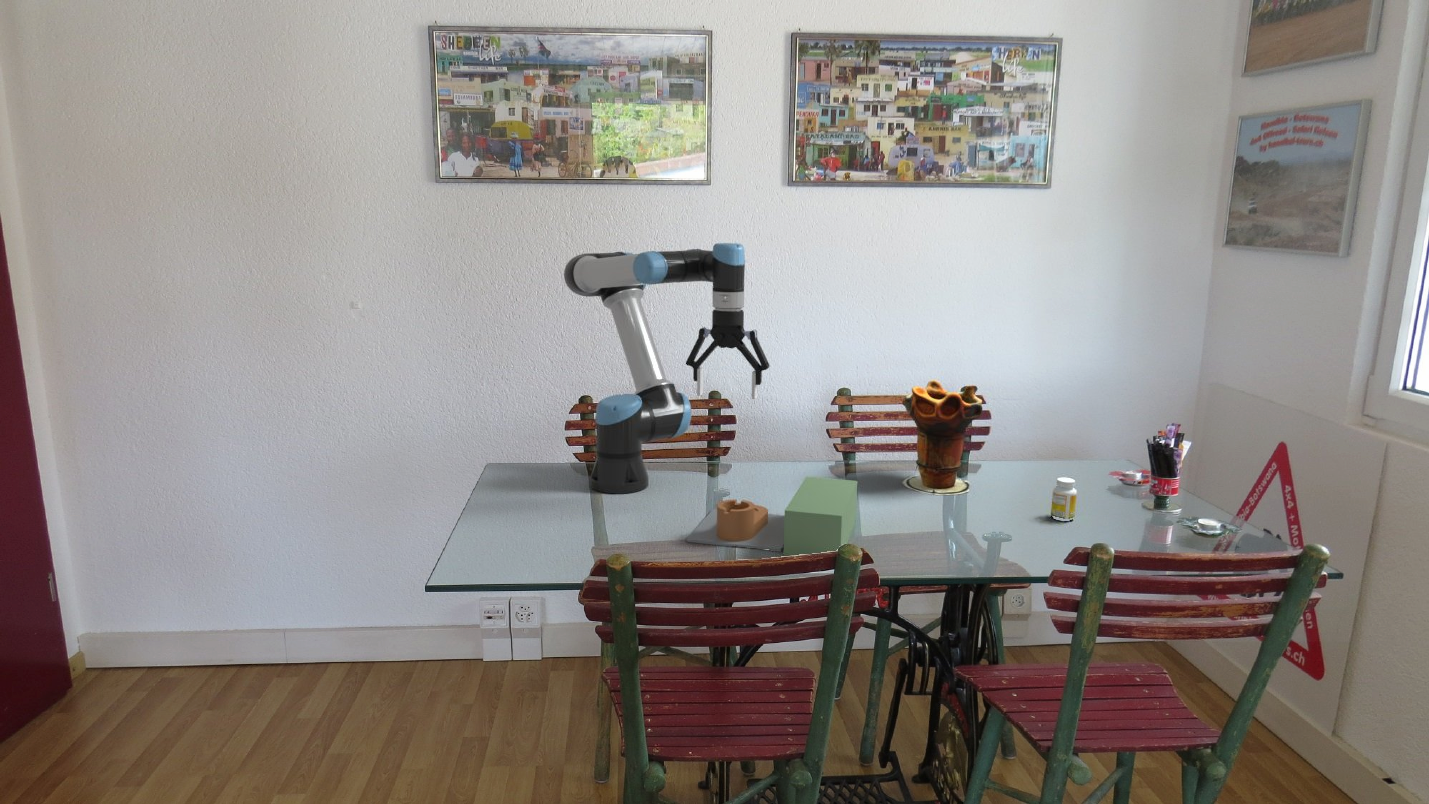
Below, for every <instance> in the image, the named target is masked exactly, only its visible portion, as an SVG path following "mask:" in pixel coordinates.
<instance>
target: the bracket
mask: <svg viewBox="0 0 1429 804" xmlns="http://www.w3.org/2000/svg"><path fill="white" fill-rule="evenodd" d="M737 500H738V499H733V498H732V499H725V500H721V501H719V502H718V503H717V504H716V509H717V536H718V537H719V538H720V539H723V540H726V541H735V542H738V541H746V540H750V539H752V538H753V537H754V536H755V535H756V534H757V533H758V532H759V531H760V530H761V529H762V528H763V527H764V526H765V525H767V523H768V514H769V509H768V508H767V507H765V506H762V505H758V504H754V503H753V502H752V501H749V500H746V499H745V500H744V499H742V500H741V501H740V502H738V501H737Z"/></svg>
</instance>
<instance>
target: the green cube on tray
mask: <svg viewBox="0 0 1429 804" xmlns="http://www.w3.org/2000/svg"><path fill="white" fill-rule="evenodd" d="M857 496H858V480H853V479H851V480H849V479H840V478H839V479H838V478H828V477H815V476H806V477H804V480H803V481H802V483H801V484H800V486H799V488H798V489H797V491H796V492H795V493H794V495H793V496H792V498H791V500H790V502H789V503H788V504H787V506H786V507H785V509H784V515H783V514H772V513H768V523H767V525H765V526H764V527H763V528H762V529H761V530H760V531H759V532H758V533H757V534H756V535H755V536H754V537H753V538H752V539H750V540H746V541H738V542H735V541H726V540H723V539H720V538H719V537H718V536H717V508H713V509H712V510H711V511H710V512H709V513H708V514H707V516H705V518H703V520H702V521H701V522H700V523H699V524H698V526H697V527H696V528H695V529H694V530H693V531H692V533H690V535H689V536H688V537H687V538H686V542H687V543H693V544H702V545H703V544H704V545H712V546H713V545H715V546H722V547H732V546H734V548H736V547H735V546H738V547H737V548H740V547H748V548H747V549H750V548H758V549H757V550H759V549H769V550H772V552H778V551H779V552H778V553H780V552H782V551H783V556H785V557H790V556H789V555H799V554H812V553H821V552H827V551H836V550H837V549H839V546H841V545H842V544H845V543H847V544H848V543H849V540H850V537H851V535H852V533H853V530H854V527H855V526H856V520H857V499H858V498H857ZM732 548H733V547H732ZM769 550H768V551H769Z"/></svg>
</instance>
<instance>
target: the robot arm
mask: <svg viewBox="0 0 1429 804" xmlns="http://www.w3.org/2000/svg"><path fill="white" fill-rule="evenodd" d="M745 264H746V258H745V247H744V245H743V244H741V243H737V242H736V243H735V242H733V243H732V242H729V243H728V242H717V243H714V244H713V246H712V250H707V249H706V250H705V249H700V248H696V249H695V248H692V249H691V248H690V249H686V250H668V251H665V250H664V251H663V250H662V251H661V250H660V251H659V250H658V251H655V250H650V251H645V252H640V253H635V254H633V253H632V252H624V251H616V252H600V253H597V252H593V253H590V252H589V253H581V254H578V255H575V256H574V257H572V258H571V259H570V260H568V262H567V263H566V265H565V268H564V271H563V279H564V283H565V284H566V287H568V289H569V290H570V291H571V292H572V293H574V294H576V295H579V296H582V297H587V298H588V297H589V298H591V297H592V298H593V297H600V298H601V302H602V305H603V306H604V307H605V308H607V309H609V310H610V311H611V315H612V318H613V321H614V324H615V327H616V331H617V333H618V337H619V340H620V342H621V343H620V344H621V346H622V349H623V353H624V355H625V358H626V361H627V364H628V368H629V372H630V374H631V377H632V380H633V383H634V387H635V392H634V393H624V394H613V395H610V396H607V397H604V398H602V399H601V400H600V401H598V403H597V405H596V409H595V419H594V420H595V425H596V426H595V429H596V430H595V435H596V437H595V438H596V441H595V443H596V458H595V462H594V465H593V468H592V472H591V475H590V481H589V483H590V488H591V489H593V491H597V492H600V493H605V494H631V493H636V492H640V491H643V490H645V489H647V488H648V487H649V475H648V472H647V469H646V465H645V463H644V460H643V459H644V458H643V456H642V455H643V453H642V450H643V449H642V448H643V446H642V444H644V443H650V442H655V441H660V440H661V441H662V440H666V439H673V438H675V437H679V436H682V435H683V434H685V433H686V431H688V429H689V426H690V424H691V421H692V405H691V403H690V399H689V398H688V396H687V395H685V394H684V393H682V392H677V388H676V386H675V384H674V383H673V382H671V381H670V380H668V379H667V377H666V376H667V375H666V374H665V371H664V368H663V365H662V362H661V359H660V355H659V352H658V350H657V347H656V343H655V340H654V337H653V334H652V330H651V328H650V325H649V322H648V319H647V316H646V313H645V310H644V307H643V304H642V301H641V300H642V298H643V296H644V294H645V293H644V292H645V291H644V290H645V289H646V286H647V285H651V286H652V285H659V284H661V285H662V284H672V283H678V284H679V283H692V282H693V283H694V282H708V283H712V308H714V309H713V310H712V312H711V313H712V315H711V316H712V317H711V318H712V321H711V323H712V325H711V329H710V328H706V327H701V328H699V330H698V336H697V340H696V341H695V343H694V346H693V347H692V349H691V351H690V354H689V355H688V358H687V359H686V361H685V365H686V366H690V367H691V368H692V370H693V373H692V376H693V378H692V379H693V382H696V395H697V396H702V395H703V394H704V366H703V367H701V365H702V364H703V363H704V362H705V361H706V360H707V359H708V357H709V356H710V355H711V354H712V353H713V352H714V351H715V349H717V347H719V348H720V349H724V348H728V349H734V348H736V349H737V351H738V352H740V353H741V355H742V356H743V357H744V358H745V359H746V360H747V362H748V363H749V365H750V367H752V369H753V371H751V400H755V399H757V398H758V386H761V384H762V382H763V381H762V379H763V378H762V373H763V371H767V370H768V369H769V368H770V366H771V365H770V363H769V361H768V359H767V357H766V354H765V353H764V350H763V348H762V346H761V344H760V341H759V339H758V332H757V330H756V329H752V330H745V328H744V326H745V325H744V323H745V322H744V321H745V317H744V316H745V314H744V313H745V311H744V310H743V308H744V307H745V273H746V272H745V270H746V267H745V266H746V265H745ZM709 335H710V336H711V338H712V339H713V341H712V342H711V344H709V346H708V347H707V349H706V350H705V351H704V352H703V353H702V354H701V355H700V356H699V358H698V359H697V356H698V354H699V352H700V349H702V345H703V343H704V342H705V341H706V340H705V339H706V338H708V337H709ZM745 337H746V338H747V340H748V341H750V344H751V346H752V348H753V351H754V353H755V355H756V357H757V359H758V360H757V359H756V357H755V356H754V355H753V354H752V352H751V351H750V350H749V348H748V347H747V345H746V344H745V342H744V341H743V340H744V338H745ZM696 359H697V360H696Z"/></svg>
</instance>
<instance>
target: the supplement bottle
mask: <svg viewBox="0 0 1429 804" xmlns="http://www.w3.org/2000/svg"><path fill="white" fill-rule="evenodd" d="M1075 486H1076V480H1075V479H1073V478H1072V477H1071V478H1070V477H1057V479H1056V486H1054V487H1053V489H1052V498H1051V508H1050V516H1051V515H1052V516H1055V517H1059V518H1063V519H1070V518H1073V517H1074V518H1075V515H1076V514H1075V513H1076V506H1077V505H1076V504H1077V495H1078V490H1077V489H1075Z"/></svg>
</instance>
